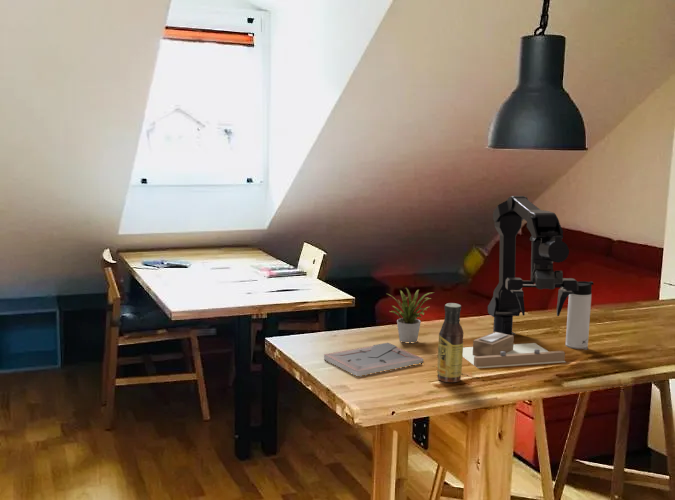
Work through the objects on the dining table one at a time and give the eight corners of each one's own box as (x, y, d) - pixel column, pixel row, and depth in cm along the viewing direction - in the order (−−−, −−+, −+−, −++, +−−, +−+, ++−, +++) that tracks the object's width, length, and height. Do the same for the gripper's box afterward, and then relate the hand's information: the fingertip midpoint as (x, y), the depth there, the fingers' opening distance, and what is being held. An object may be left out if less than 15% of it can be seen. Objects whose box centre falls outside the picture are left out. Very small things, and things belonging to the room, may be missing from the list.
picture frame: (387, 350, 226) (323, 362, 214) (388, 342, 225) (323, 353, 214) (423, 366, 212) (356, 379, 200) (423, 357, 211) (356, 370, 200)
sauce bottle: (434, 375, 202) (437, 301, 199) (458, 375, 203) (461, 301, 199) (439, 384, 196) (442, 307, 192) (464, 384, 196) (467, 307, 193)
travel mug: (589, 352, 224) (594, 284, 220) (566, 350, 225) (570, 283, 222) (587, 346, 230) (592, 279, 226) (564, 344, 231) (568, 278, 228)
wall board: (451, 350, 224) (452, 336, 223) (534, 345, 230) (535, 331, 229) (477, 370, 206) (478, 355, 206) (566, 364, 212) (567, 349, 212)
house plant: (445, 341, 232) (448, 288, 230) (417, 351, 222) (419, 295, 220) (408, 332, 242) (409, 280, 239) (379, 341, 232) (380, 287, 229)
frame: (472, 354, 218) (473, 339, 217) (494, 345, 226) (495, 330, 226) (491, 359, 214) (492, 343, 213) (513, 349, 223) (513, 334, 222)
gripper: (510, 261, 204) (509, 320, 206) (583, 262, 202) (582, 321, 204) (505, 257, 215) (504, 313, 217) (574, 257, 214) (573, 314, 215)
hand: (540, 315), depth 213 cm, fingers open, 9 cm apart
